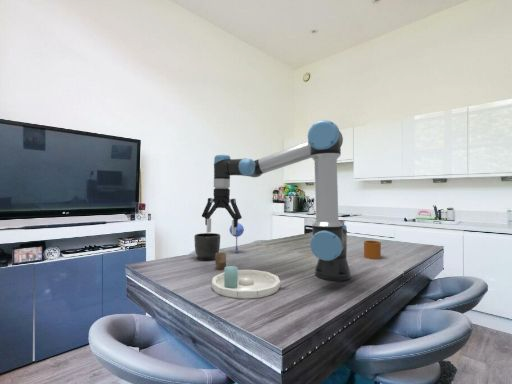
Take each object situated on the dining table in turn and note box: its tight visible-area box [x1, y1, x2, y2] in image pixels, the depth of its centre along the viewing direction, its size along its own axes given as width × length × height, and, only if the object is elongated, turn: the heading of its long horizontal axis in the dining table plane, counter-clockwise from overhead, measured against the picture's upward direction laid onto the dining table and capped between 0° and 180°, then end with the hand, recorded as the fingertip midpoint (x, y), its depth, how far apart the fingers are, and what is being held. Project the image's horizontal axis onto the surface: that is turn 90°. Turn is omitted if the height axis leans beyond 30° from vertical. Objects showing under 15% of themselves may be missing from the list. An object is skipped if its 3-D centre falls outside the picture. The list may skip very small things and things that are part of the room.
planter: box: [194, 232, 221, 261], centre depth 150 cm, size 14×14×13 cm
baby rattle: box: [229, 222, 245, 254], centre depth 165 cm, size 9×9×18 cm
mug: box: [363, 240, 382, 260], centre depth 157 cm, size 9×12×9 cm
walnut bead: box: [214, 252, 227, 271], centre depth 131 cm, size 5×5×7 cm
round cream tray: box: [211, 269, 281, 300], centre depth 107 cm, size 26×26×3 cm
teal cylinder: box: [223, 265, 239, 289], centre depth 104 cm, size 5×5×7 cm
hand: (221, 233), depth 129 cm, fingers open, 13 cm apart
